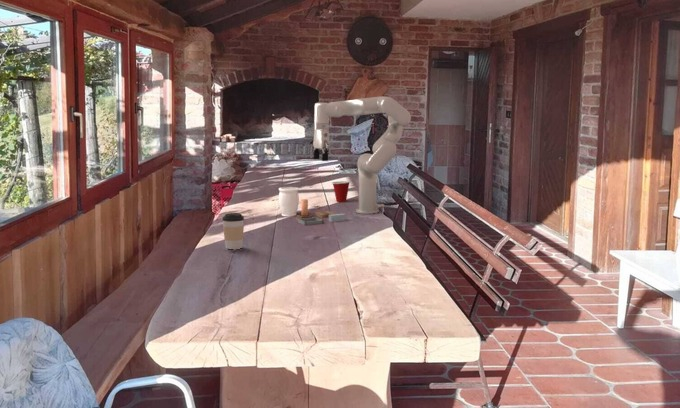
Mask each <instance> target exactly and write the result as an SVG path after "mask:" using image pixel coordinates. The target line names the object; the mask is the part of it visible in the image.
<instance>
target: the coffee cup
mask: <svg viewBox="0 0 680 408" xmlns="http://www.w3.org/2000/svg"><path fill="white" fill-rule="evenodd" d="M244 220H245V216H244V215H242V213H239V212H230V213H226V214H224V216H222V222H223V223H222V228H223V237H224V244H225V249H226V248H229V249H240V248H242V249H243V247H244V246H243V245H244V243H243V240H244V230H245V228H244V227H245V225H244ZM240 250H241V249H240Z"/></svg>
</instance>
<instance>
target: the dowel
mask: <svg viewBox="0 0 680 408" xmlns="http://www.w3.org/2000/svg"><path fill="white" fill-rule="evenodd" d="M308 200H309V199H307V198H305V199H304V198H303V199H301V200H300V201H301V202H300V203H301V215H302V217H303V216H308V214H309V213H308V212H309V203H308V202H309V201H308Z"/></svg>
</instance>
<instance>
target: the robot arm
mask: <svg viewBox="0 0 680 408" xmlns="http://www.w3.org/2000/svg"><path fill="white" fill-rule="evenodd" d="M381 113H384V114H386V115H387V121H388V127H387V129H386V130H385V131H384V132H383V134H382V135H380V137H379V138H378V139H377V140H376V141H375V142H374V144H373V145H372V153H362V154H361V155H360V156H359V157H358V159H357V162H356V163H357V164H356V165H357V166H356V167H357V171H358V208H356V209H355V212H356V213H357V214H359V215H360V214H361V215H374V214H373V213H375V214H378V213H377V212H379V213H380V208H381V209H382V208H383V209H384V208H385V204H384V203H381V204H380V203H377V179H378V178H377V174H378V173H379V172H381V171H382V170H383V169H384V168H386V166H387V165H388V164H389V163H390V162H391V161H392V160H393V158H394V157H395V155H396V153H397V143H398V142H399V141H400V139H401V138H402V135H403V130H404V127H406V126H408V125H410V122H411V121H412V116H411V114H410V112H409V111H408V110H407V109H406V108H404V107H403V106H402V104H400V103H399V102H398V101H396V100H395V99H394V98H393V97H391V96H381V95H380V96H373V97H365V98H355V99H349V100H339V101H330V102H316V103H314V113H313V114H314V115H313V121H314V123H313V130H314V131H313V132H314V133H313V142H312V149H313V151H312V152H313V160H319V159H320V150H321V151H322V153H321V161H322V162H328V161H329V153H330V146H331V143H330V139H331V138H330V130H329V128H330V127H329V126H330V125H329V124H330V123H329V122H330V117H332V118H340V117H343V116H347V115H348V116H350V115H352V116H365V115H366V116H367V115H373V114H381Z"/></svg>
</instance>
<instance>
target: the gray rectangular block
mask: <svg viewBox="0 0 680 408" xmlns="http://www.w3.org/2000/svg"><path fill="white" fill-rule="evenodd" d="M346 216H347V215H346V214H345V213H336V214H332V215H329V217H328V222H331V223H333V222H334V223H335V222H343V221H344V222H345V221H346V220H347V219H346V218H347V217H346Z"/></svg>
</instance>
